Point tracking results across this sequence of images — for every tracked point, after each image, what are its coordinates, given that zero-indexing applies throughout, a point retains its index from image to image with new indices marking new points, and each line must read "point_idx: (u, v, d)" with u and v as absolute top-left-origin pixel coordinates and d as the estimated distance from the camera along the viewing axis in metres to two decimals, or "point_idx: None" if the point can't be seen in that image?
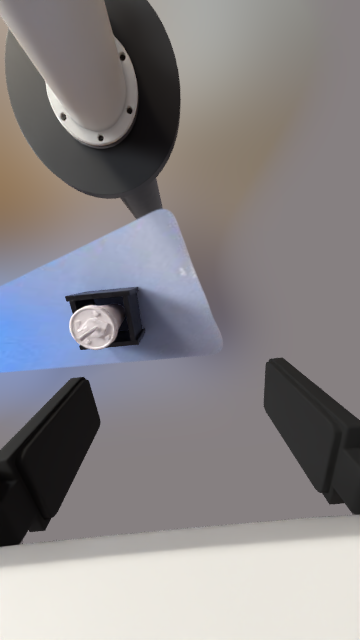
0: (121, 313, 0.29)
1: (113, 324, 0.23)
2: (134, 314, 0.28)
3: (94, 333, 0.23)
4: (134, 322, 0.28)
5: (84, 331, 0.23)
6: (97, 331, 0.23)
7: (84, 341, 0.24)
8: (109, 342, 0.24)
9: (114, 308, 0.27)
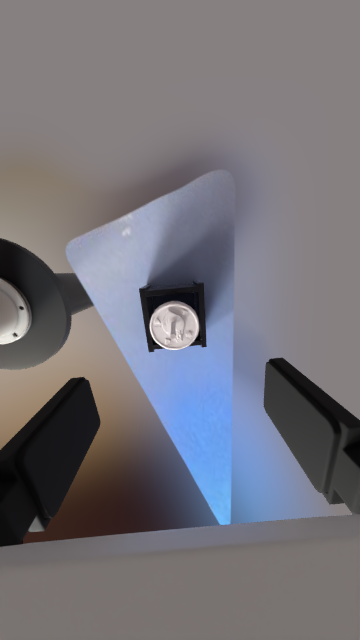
0: None
1: (169, 304, 0.20)
2: (170, 287, 0.25)
3: (179, 325, 0.21)
4: (178, 287, 0.25)
5: (176, 335, 0.21)
6: (176, 322, 0.21)
7: (189, 337, 0.22)
8: (190, 311, 0.21)
9: None
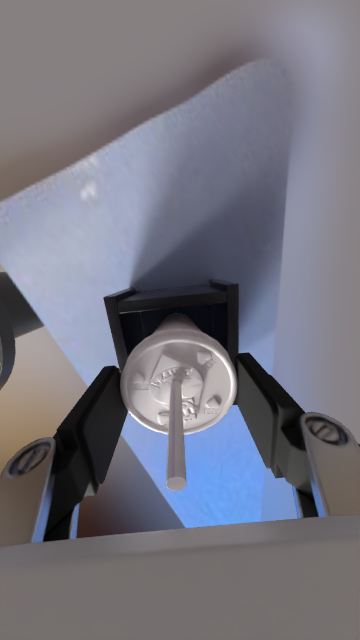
0: (169, 320, 0.14)
1: (167, 338, 0.08)
2: (169, 293, 0.13)
3: (190, 388, 0.09)
4: (185, 292, 0.13)
5: (184, 409, 0.09)
6: (184, 380, 0.08)
7: (212, 410, 0.09)
8: (219, 354, 0.08)
9: None
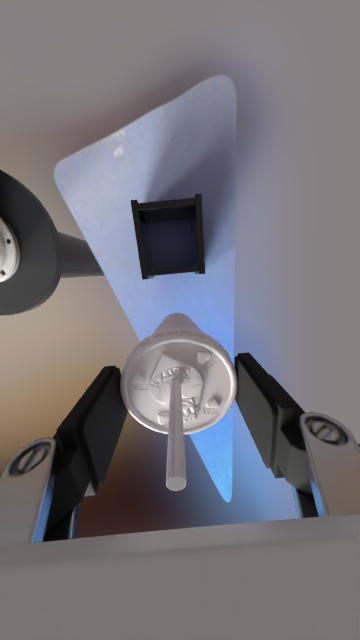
0: (169, 319, 0.14)
1: (167, 338, 0.08)
2: None
3: (190, 388, 0.09)
4: None
5: (184, 408, 0.09)
6: (184, 380, 0.08)
7: (212, 410, 0.09)
8: (219, 354, 0.08)
9: None
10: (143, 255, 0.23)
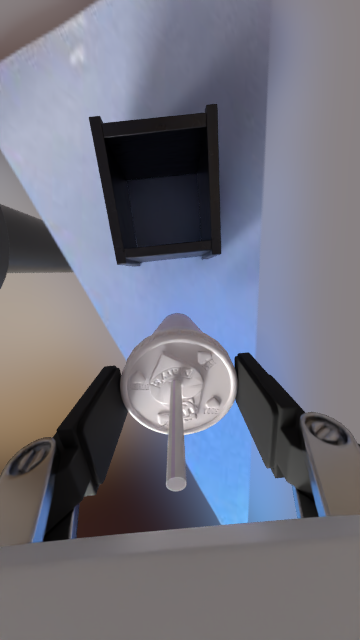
0: (169, 320, 0.14)
1: (167, 338, 0.08)
2: None
3: (190, 388, 0.09)
4: None
5: (184, 409, 0.09)
6: (184, 381, 0.08)
7: (212, 410, 0.09)
8: (219, 354, 0.08)
9: None
10: (116, 222, 0.13)
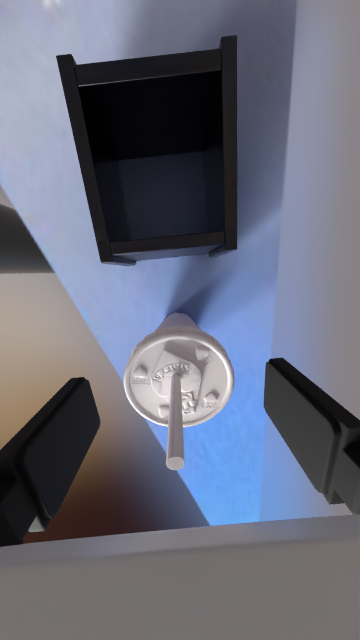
0: (169, 319, 0.15)
1: (168, 336, 0.09)
2: None
3: (189, 382, 0.09)
4: None
5: (183, 402, 0.10)
6: (184, 375, 0.09)
7: (210, 404, 0.10)
8: (216, 350, 0.09)
9: (155, 330, 0.14)
10: (99, 207, 0.10)
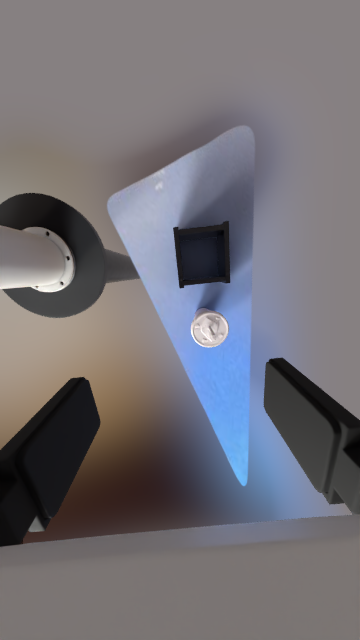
0: (201, 310, 0.33)
1: (207, 313, 0.27)
2: None
3: (213, 329, 0.28)
4: None
5: (211, 336, 0.28)
6: (212, 326, 0.28)
7: (220, 337, 0.29)
8: (222, 318, 0.27)
9: (196, 314, 0.32)
10: (181, 269, 0.29)
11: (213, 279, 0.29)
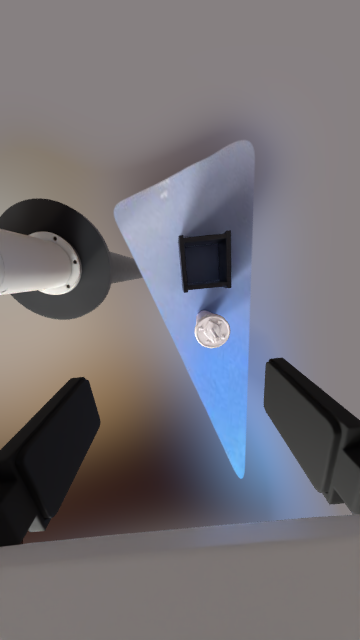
0: (203, 312, 0.35)
1: (210, 316, 0.29)
2: None
3: (216, 331, 0.30)
4: None
5: (214, 338, 0.30)
6: (214, 328, 0.30)
7: (222, 339, 0.31)
8: (224, 321, 0.29)
9: (199, 317, 0.34)
10: (185, 274, 0.31)
11: (215, 284, 0.31)
